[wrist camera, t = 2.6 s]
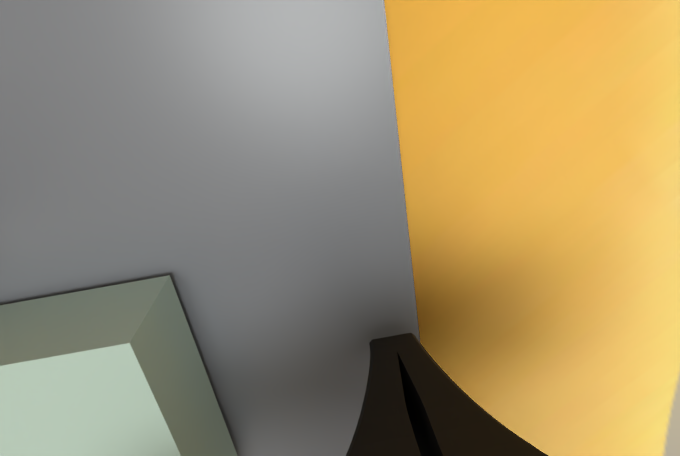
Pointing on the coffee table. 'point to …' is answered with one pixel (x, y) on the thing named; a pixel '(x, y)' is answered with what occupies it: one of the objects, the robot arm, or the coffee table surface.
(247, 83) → the pin board
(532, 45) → the coffee table surface
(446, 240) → the coffee table surface
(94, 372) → the pale green square block
